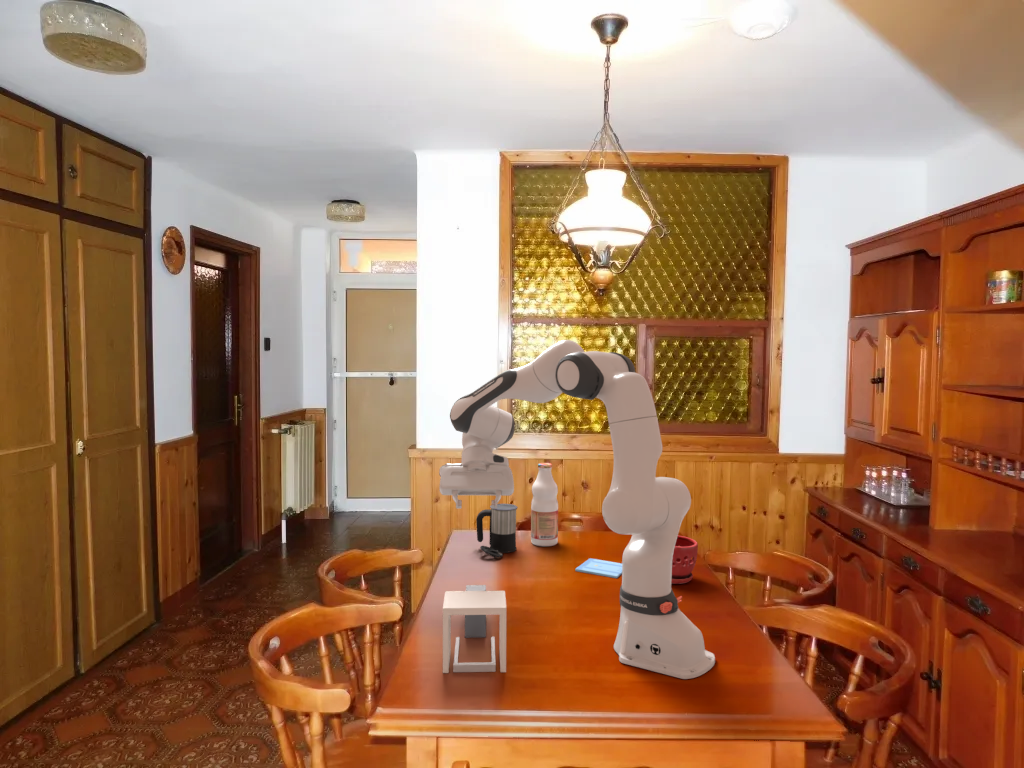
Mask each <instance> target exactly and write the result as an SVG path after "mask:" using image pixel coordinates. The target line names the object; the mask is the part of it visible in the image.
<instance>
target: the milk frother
mask: <svg viewBox="0 0 1024 768" xmlns="http://www.w3.org/2000/svg"><path fill="white" fill-rule="evenodd" d="M489 508H490V509H487V508H486V509H483V510H481V511H480V512H479V513H478V514H477V516H476V521H475V522H476V539H477V541H478V543H482V542H483V541H484V524H483V519H484V518H485V517H489V541H488V542H489V546H487V545H480V550H481V551H482V552H483V553H485V554H487V555H489V556H490V557H492V558H494V559H496V558H503V554H504V553H513V552H515V551H516V550H517V542H516V541H517V539H516V537H517V534H516V532H517V510H518V506H517V505H515V504H512V503H497V509H492V504H491V505H490V506H489Z"/></svg>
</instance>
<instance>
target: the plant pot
mask: <svg viewBox="0 0 1024 768" xmlns="http://www.w3.org/2000/svg"><path fill="white" fill-rule="evenodd" d="M698 548H699V543H698V542H697V541H696V540H695V539H693V538H691V537H687V536H684V535H683V536H682V535H678V536H677V540H676V543H675V548H674V552H673V559H672V581H671V585H673V584H674V585H679V584H686V583H689V582H690V581H692V580H693V577H694V574H693V573H692V572H693V570H694V568H695V566H696V563H697V558H698Z"/></svg>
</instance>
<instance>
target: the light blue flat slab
mask: <svg viewBox="0 0 1024 768" xmlns="http://www.w3.org/2000/svg"><path fill="white" fill-rule="evenodd" d="M575 572H579V573H585V574H589V575H595V576H601V577H607V578H613V579H618V578H619V577H620V576H622V562H621V563H620V562H615V561H610V560H604V559H603V560H602V559H598V558H591V557H590V558H588V559H587V560H585V561H584V562H583V563H581V564H579V566H577V567H576V568H575Z"/></svg>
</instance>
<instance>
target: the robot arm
mask: <svg viewBox="0 0 1024 768" xmlns="http://www.w3.org/2000/svg"><path fill="white" fill-rule="evenodd" d="M648 384H649V383H648V382H647V380H646V378H645V376H643V375H642V374H640V373H637V372H636V369H635V365H634V363H633V362H632V360H631V358H629V357H628V356H626V355H624V354H621V353H620V352H619V353H618V352H614V351H613V352H612V351H609V352H607V351H599V350H590V351H585V350H584V349H583V348H582V346H581V345H580V344H578V343H577V342H576V341H574V340H570V339H562V340H559V341H558V342H556V343H554V344H553V345H551V346H549V347H548V348H547V349H545V350H543V352H542V353H540V354H539V355H538V356H537V357H536V358H534V360H532V361H531V362H529V363H526V364H525V365H522V366H520V367H516V368H513V369H511V368H510V369H507V370H504V371H503V372H501V373H499V374H498V375H496V376H495V377H493V378H491V379H490V380H488V381H487V382H485V383H484V384H483V385H481V386H480V387H478V388H477V389H474V391H472V392H471V393H468V394H466V395H464V396H462V397H459V398H458V399H457V400H456V401H455V402H454V403H453V404H452V407H451V409H450V413H449V419H450V423H451V425H452V426H453V428H454V430H455V431H457V432H461V433H462V438H461V443H462V452H461V463H445V464H444V465H442V466H440V467H439V472H438V473H439V476H440V480H439V493H440V494H441V495H442V496H452V500H453V501H454V503H455V509H462V499H459V498H458V496H495V499H492V500H491V505H492V509H497V504H499V502H500V500H501V499H502V496H504V497H505V496H512V495H513V493H514V492H515V481H514V476H513V475H514V474H513V471H512V469H511V467H510V464H509V463H510V461H509V458H508V457H506V456H503V455H499V454H496V453H493V450H494V449H497V448H500V447H501V446H504V445H505V444H507V443H508V442H510V440H512V438H513V436H514V433H515V430H516V429H515V428H516V426H515V420H514V416H513V414H512V413H511V412H509V411H506V410H504V409H502V408H499V407H498V406H493V405H494V404H495V403H497V402H499V401H502V400H508V399H511V400H520V401H526V402H531V403H536V404H545V403H548V402H550V401H552V400H553V401H554V400H555V399H557V398H558V397H559V396H561V394H565V395H567V396H570V397H572V398H577V399H582V400H590V401H593V400H595V399H598V400H600V401H602V402H603V404H604V406H605V409H606V414H607V415H606V416H607V420H608V427H609V433H610V439H611V445H612V452H613V455H612V456H613V468H612V469H613V471H612V478H611V484H610V487H609V490H608V492H607V494H606V496H605V497H604V499H603V501H602V506H601V513H602V517H603V520H604V522H605V524H606V526H607V527H608V528H609V529H610V530H611V531H612V532H614V533H616V534H618V535H631V538H630V540H629V542H628V543H627V545H626V547H625V548H624V550H623V551H622V552H623V553H622V559H621V560H622V561H621V563H622V574H621V585H620V588H619V605H620V615H619V616H620V617H619V622H618V623H619V624H618V628H617V633H616V637H615V641H614V644H613V649H614V651H615V652H616V654H617V655H618V660H619V662H620V663H622V664H625V665H629V666H632V667H636V668H640V669H643V670H648V671H651V672H655V673H658V674H663V675H666V676H670V677H674V678H678V679H682V680H688V679H694V678H697V677H700V676H702V675H704V674H705V673H707V672H708V671H710V670H711V669H712V668H713V667H714V666H715V663H716V657H715V653H713V652H711V651H708V650H707V649H705V648H706V647H705V640H704V636H703V633H702V631H701V630H700V629H699V628H698V627H697V626H696V624H694V623H693V622H692V621H691V620H690V619H689V618H688V617H687V616H686V615H685V614H684V612H682V611H681V609H680V608H679V603H680V602H682V601H683V600H682V599H683V596H682V595H680V596H678V597H676V596H675V592H674V591H673V588H672V584H671V581H672V559H673V552H674V548H675V543H676V540H677V536H679V533H680V529H681V526H682V522H683V520H684V518H685V517H686V515H687V514H688V512H689V510H690V509H691V505H692V497H691V493H690V490H689V488H688V487H687V485H686V484H685V483H684V482H683V481H681V480H680V479H677V478H674V477H666V476H657V467H658V466H657V465H658V461H659V459H660V457H661V456H662V454H663V447H664V446H663V442H662V435H661V431H660V425H659V419H658V416H657V410H656V405H655V401H654V397H653V395H652V392H651V390H650V386H649V385H648Z"/></svg>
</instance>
